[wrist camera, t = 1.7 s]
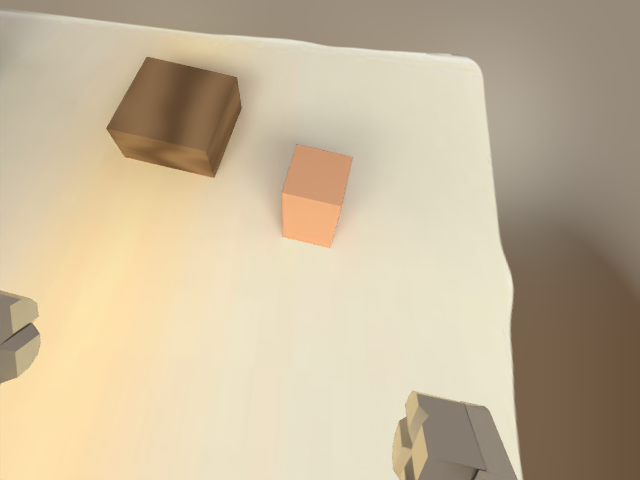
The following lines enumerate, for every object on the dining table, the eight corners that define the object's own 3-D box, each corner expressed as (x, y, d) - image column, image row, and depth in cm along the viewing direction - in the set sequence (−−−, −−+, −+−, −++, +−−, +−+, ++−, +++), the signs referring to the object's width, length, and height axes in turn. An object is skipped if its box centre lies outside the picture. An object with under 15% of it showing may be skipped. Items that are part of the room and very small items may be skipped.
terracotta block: (282, 236, 40) (281, 192, 31) (294, 195, 42) (296, 144, 33) (330, 248, 40) (341, 206, 31) (339, 206, 42) (352, 157, 33)
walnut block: (125, 158, 42) (106, 128, 38) (160, 91, 46) (146, 56, 42) (214, 179, 42) (205, 151, 37) (241, 109, 46) (236, 77, 41)
